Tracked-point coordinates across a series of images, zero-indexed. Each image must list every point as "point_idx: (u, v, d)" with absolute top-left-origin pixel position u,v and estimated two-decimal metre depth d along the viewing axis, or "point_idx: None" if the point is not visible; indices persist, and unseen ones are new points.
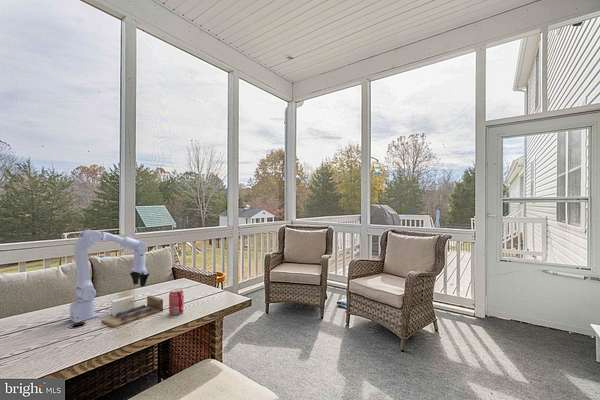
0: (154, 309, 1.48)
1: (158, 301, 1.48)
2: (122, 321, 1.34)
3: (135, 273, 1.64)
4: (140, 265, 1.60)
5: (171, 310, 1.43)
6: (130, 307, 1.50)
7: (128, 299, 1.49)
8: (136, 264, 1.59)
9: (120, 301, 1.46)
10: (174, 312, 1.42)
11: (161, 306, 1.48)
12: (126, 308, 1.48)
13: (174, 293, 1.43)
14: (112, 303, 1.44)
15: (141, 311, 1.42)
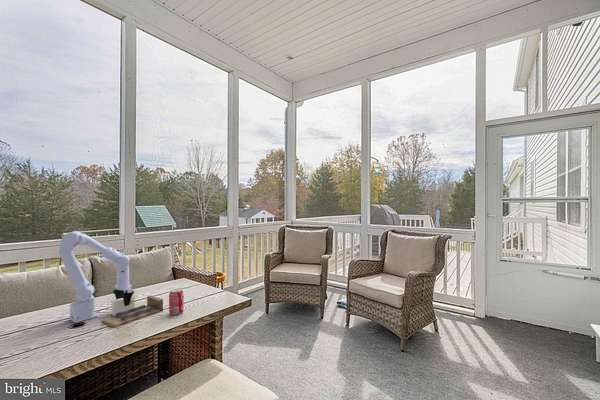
0: (154, 309, 1.48)
1: (158, 301, 1.48)
2: (122, 321, 1.34)
3: (119, 291, 1.50)
4: (124, 282, 1.46)
5: (171, 310, 1.43)
6: (130, 307, 1.50)
7: None
8: (119, 281, 1.45)
9: (120, 301, 1.46)
10: (174, 312, 1.42)
11: (161, 306, 1.48)
12: (126, 308, 1.48)
13: (174, 293, 1.43)
14: (112, 303, 1.44)
15: (141, 311, 1.42)
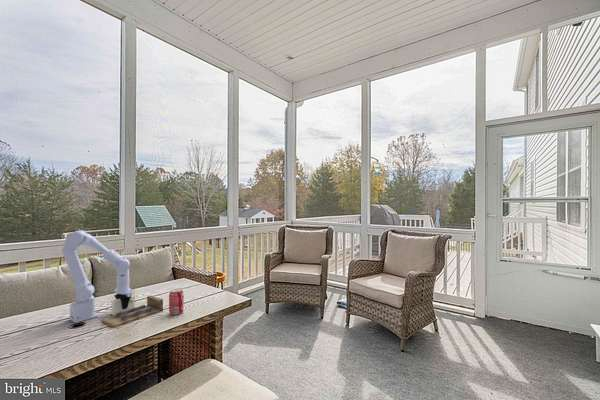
0: (154, 309, 1.48)
1: (158, 301, 1.48)
2: (122, 321, 1.34)
3: (120, 295, 1.49)
4: (124, 286, 1.46)
5: (171, 310, 1.43)
6: (130, 307, 1.50)
7: None
8: (119, 285, 1.45)
9: (120, 301, 1.46)
10: (174, 312, 1.42)
11: (161, 306, 1.48)
12: (126, 308, 1.48)
13: (174, 293, 1.43)
14: (112, 303, 1.44)
15: (141, 311, 1.42)
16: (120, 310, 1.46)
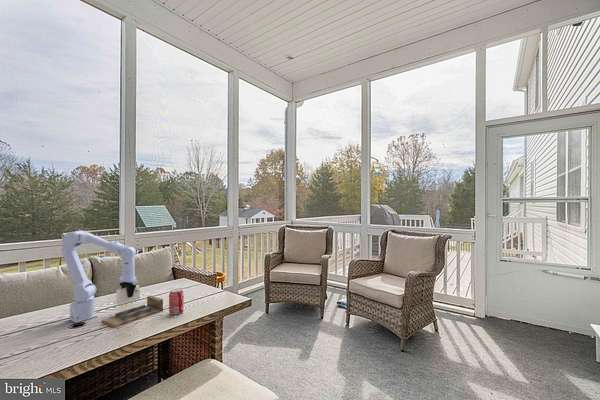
0: (154, 309, 1.48)
1: (158, 301, 1.48)
2: (122, 321, 1.34)
3: (126, 283, 1.46)
4: (129, 274, 1.43)
5: (171, 310, 1.43)
6: (135, 297, 1.47)
7: None
8: (124, 273, 1.43)
9: (125, 290, 1.43)
10: (174, 312, 1.42)
11: (161, 306, 1.48)
12: (131, 297, 1.45)
13: (174, 293, 1.43)
14: (117, 292, 1.41)
15: (141, 311, 1.42)
16: (125, 300, 1.43)
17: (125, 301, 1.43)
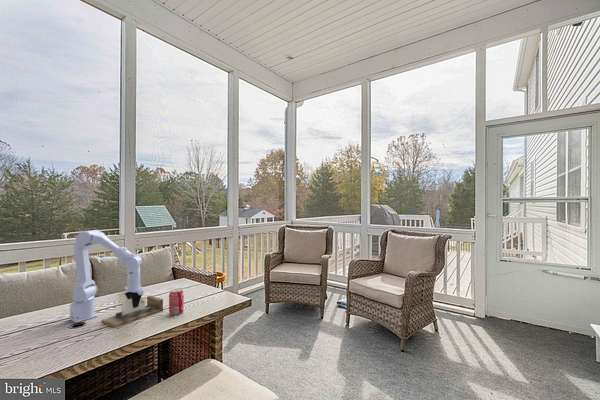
0: (154, 309, 1.48)
1: (158, 301, 1.48)
2: (122, 321, 1.34)
3: (131, 293, 1.43)
4: (134, 284, 1.40)
5: (171, 310, 1.43)
6: (141, 308, 1.44)
7: None
8: (130, 283, 1.39)
9: (131, 301, 1.40)
10: (174, 312, 1.42)
11: (161, 306, 1.48)
12: (137, 309, 1.42)
13: (174, 293, 1.43)
14: (123, 303, 1.38)
15: (141, 311, 1.42)
16: (131, 311, 1.40)
17: (131, 312, 1.39)
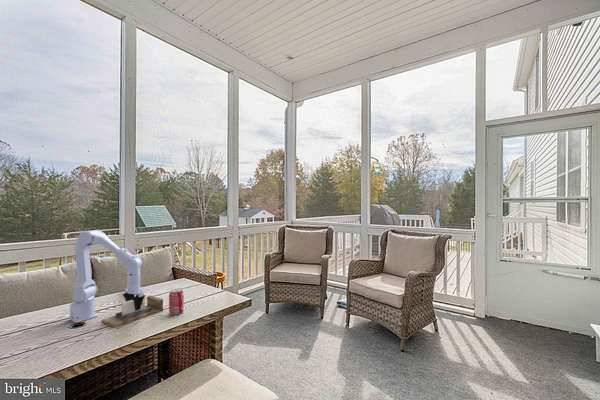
0: (154, 309, 1.48)
1: (158, 301, 1.48)
2: (122, 321, 1.34)
3: (129, 294, 1.44)
4: (134, 286, 1.40)
5: (171, 310, 1.43)
6: None
7: None
8: (130, 285, 1.39)
9: (131, 303, 1.40)
10: (174, 312, 1.42)
11: (161, 306, 1.48)
12: (137, 310, 1.42)
13: (174, 293, 1.43)
14: (123, 305, 1.38)
15: (141, 311, 1.42)
16: (131, 312, 1.40)
17: None
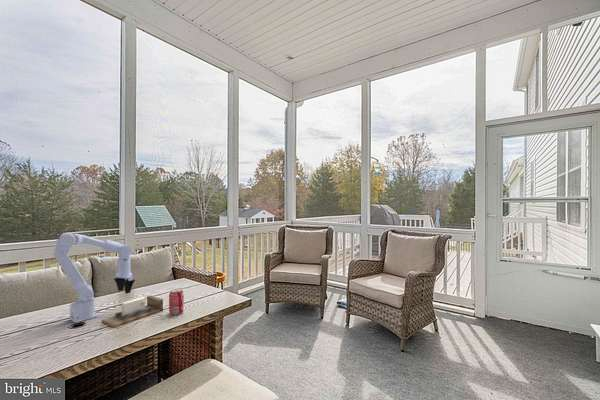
0: (154, 309, 1.48)
1: (158, 301, 1.48)
2: (122, 321, 1.34)
3: (120, 279, 1.53)
4: (125, 270, 1.49)
5: (171, 310, 1.43)
6: None
7: (139, 301, 1.43)
8: (120, 269, 1.49)
9: (131, 303, 1.40)
10: (174, 312, 1.42)
11: (161, 306, 1.48)
12: (137, 310, 1.42)
13: (174, 293, 1.43)
14: (123, 305, 1.38)
15: (141, 311, 1.42)
16: (131, 312, 1.40)
17: None
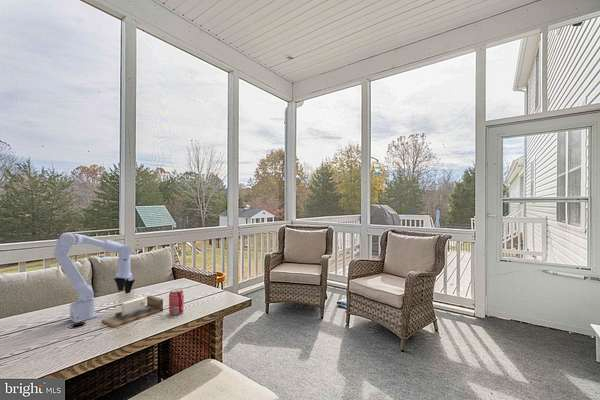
0: (154, 309, 1.48)
1: (158, 301, 1.48)
2: (122, 321, 1.34)
3: (120, 279, 1.53)
4: (125, 270, 1.49)
5: (171, 310, 1.43)
6: None
7: (139, 301, 1.43)
8: (120, 269, 1.49)
9: (131, 303, 1.40)
10: (174, 312, 1.42)
11: (161, 306, 1.48)
12: (137, 310, 1.42)
13: (174, 293, 1.43)
14: (123, 305, 1.38)
15: (141, 311, 1.42)
16: (131, 312, 1.40)
17: None
